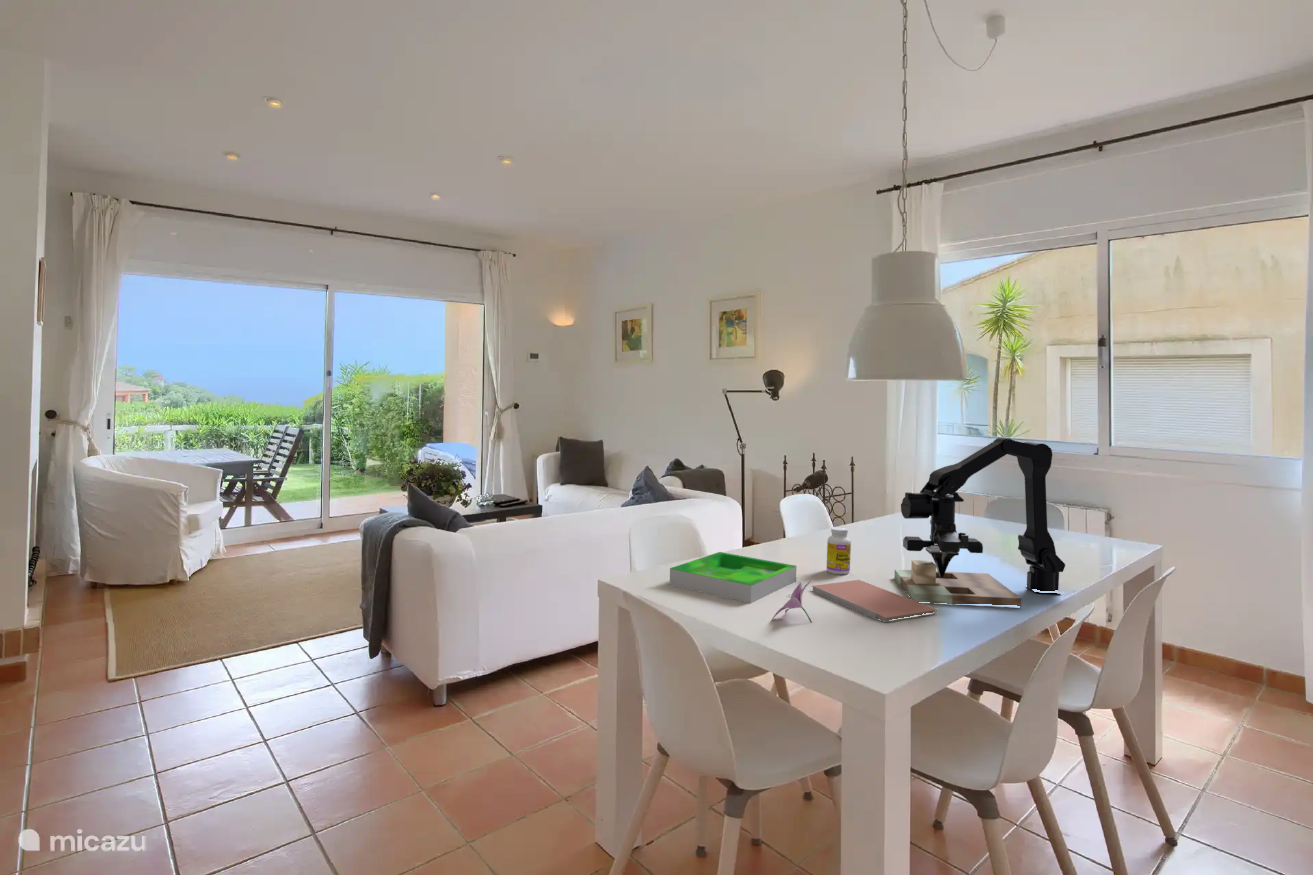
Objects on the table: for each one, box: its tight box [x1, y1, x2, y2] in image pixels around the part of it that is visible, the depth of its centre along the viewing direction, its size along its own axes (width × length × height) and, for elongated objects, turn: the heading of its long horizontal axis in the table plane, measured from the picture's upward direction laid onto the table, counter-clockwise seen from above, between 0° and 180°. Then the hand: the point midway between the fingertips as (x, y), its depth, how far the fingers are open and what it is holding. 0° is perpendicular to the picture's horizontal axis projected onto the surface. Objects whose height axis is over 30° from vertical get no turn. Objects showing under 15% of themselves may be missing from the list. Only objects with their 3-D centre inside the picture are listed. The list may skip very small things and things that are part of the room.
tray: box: [669, 551, 797, 604], centre depth 183 cm, size 25×25×5 cm
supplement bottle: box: [826, 526, 852, 575], centre depth 195 cm, size 7×7×13 cm
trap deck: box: [894, 568, 1022, 607], centre depth 177 cm, size 25×23×2 cm
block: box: [910, 559, 937, 584], centre depth 178 cm, size 5×5×5 cm
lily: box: [771, 579, 813, 623], centre depth 154 cm, size 12×12×10 cm
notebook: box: [811, 579, 938, 622], centre depth 168 cm, size 27×17×2 cm, turn 24°
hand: (941, 576), depth 177 cm, fingers closed
